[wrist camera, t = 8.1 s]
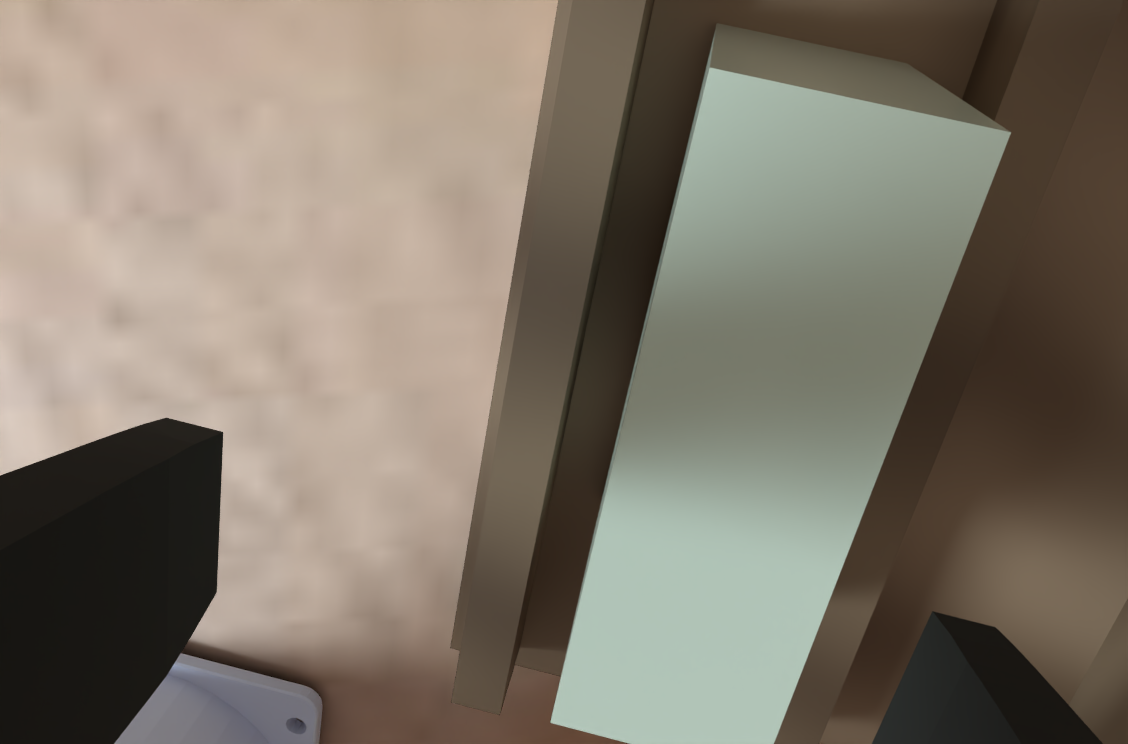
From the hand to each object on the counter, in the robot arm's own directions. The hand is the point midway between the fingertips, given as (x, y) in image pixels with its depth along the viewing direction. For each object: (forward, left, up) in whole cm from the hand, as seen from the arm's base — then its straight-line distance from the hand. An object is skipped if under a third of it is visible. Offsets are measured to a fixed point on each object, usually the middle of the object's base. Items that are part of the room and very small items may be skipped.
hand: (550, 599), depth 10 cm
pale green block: (+1, -2, -8) cm, 9 cm away
